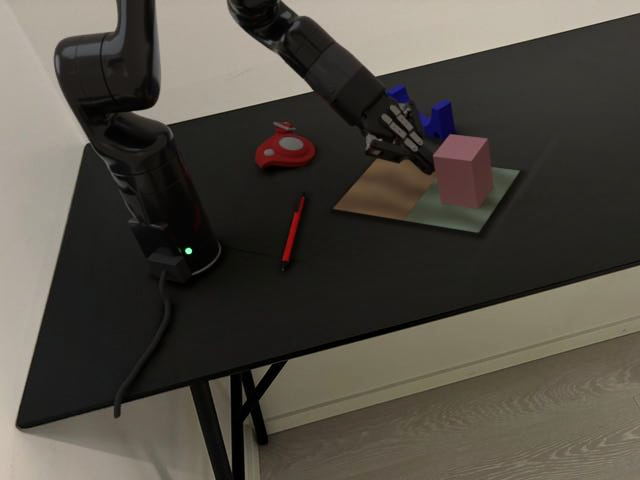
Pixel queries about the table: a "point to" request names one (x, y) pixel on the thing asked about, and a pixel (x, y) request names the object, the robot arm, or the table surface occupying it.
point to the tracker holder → (284, 149)
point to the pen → (293, 231)
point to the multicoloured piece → (418, 196)
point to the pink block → (463, 171)
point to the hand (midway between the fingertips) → (435, 170)
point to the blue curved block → (439, 120)
